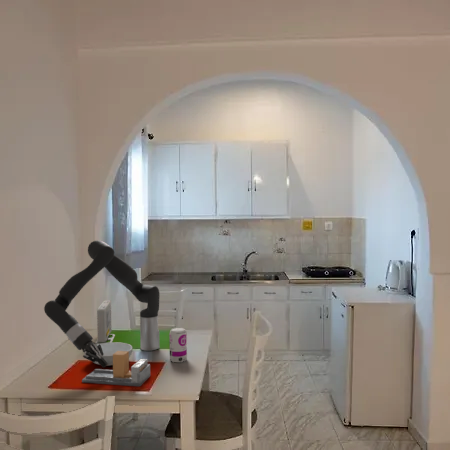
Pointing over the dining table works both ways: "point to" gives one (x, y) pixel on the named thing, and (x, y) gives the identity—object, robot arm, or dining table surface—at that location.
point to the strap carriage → (121, 364)
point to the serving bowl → (113, 350)
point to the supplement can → (178, 344)
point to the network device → (104, 322)
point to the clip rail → (138, 377)
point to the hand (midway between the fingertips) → (105, 366)
